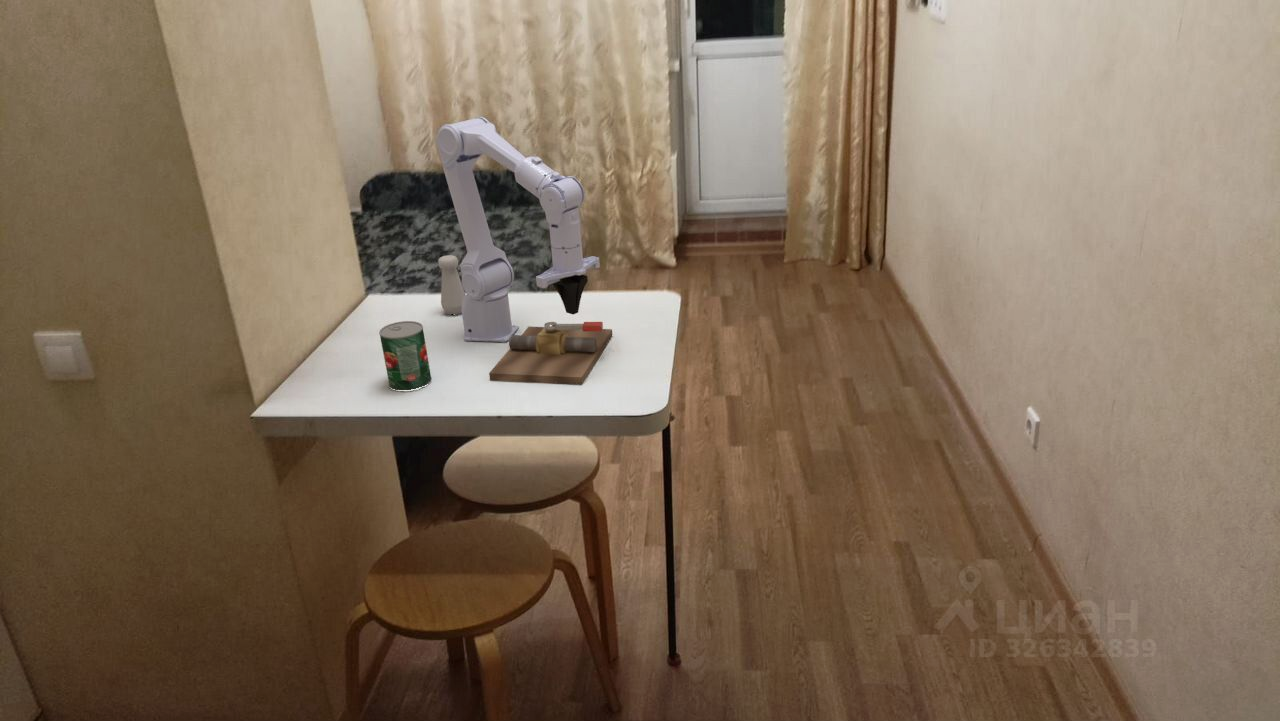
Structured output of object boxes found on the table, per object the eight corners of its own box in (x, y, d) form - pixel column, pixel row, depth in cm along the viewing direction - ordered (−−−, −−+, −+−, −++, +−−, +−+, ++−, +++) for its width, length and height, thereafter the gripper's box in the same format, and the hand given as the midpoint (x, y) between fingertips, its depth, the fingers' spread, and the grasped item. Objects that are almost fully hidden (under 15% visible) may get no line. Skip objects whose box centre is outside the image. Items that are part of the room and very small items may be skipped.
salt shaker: (456, 305, 211) (448, 251, 206) (474, 310, 208) (466, 254, 203) (437, 314, 207) (428, 258, 201) (455, 318, 204) (446, 262, 198)
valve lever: (546, 327, 180) (545, 321, 180) (603, 327, 179) (602, 321, 178) (543, 332, 178) (543, 326, 177) (601, 331, 177) (600, 326, 176)
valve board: (489, 380, 173) (486, 353, 171) (529, 333, 193) (526, 308, 191) (582, 384, 169) (579, 357, 167) (612, 335, 189) (610, 310, 187)
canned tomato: (440, 380, 174) (431, 326, 170) (406, 395, 169) (396, 340, 165) (414, 370, 179) (405, 317, 175) (380, 385, 174) (370, 331, 169)
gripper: (551, 258, 164) (558, 329, 170) (609, 238, 174) (613, 305, 179) (525, 251, 169) (533, 320, 174) (583, 232, 178) (588, 298, 184)
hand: (572, 312), depth 177 cm, fingers closed
